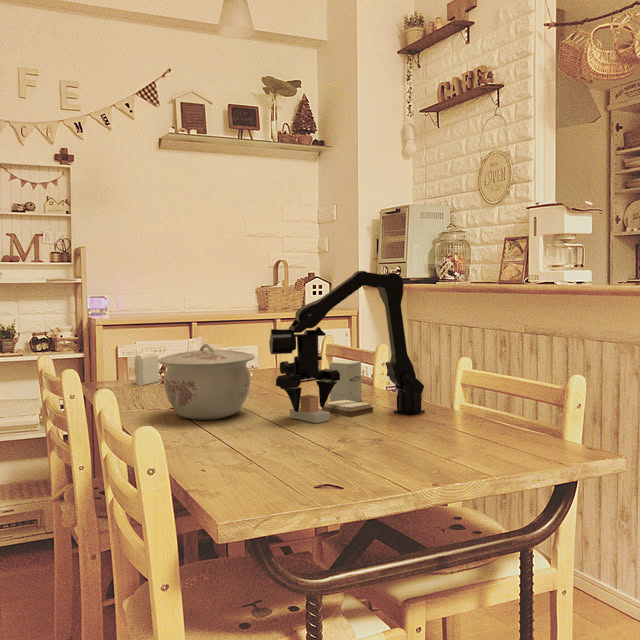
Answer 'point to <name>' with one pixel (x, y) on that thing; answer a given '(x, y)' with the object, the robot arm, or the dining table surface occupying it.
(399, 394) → the robot arm
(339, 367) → the supplement box
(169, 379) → the chamber pot
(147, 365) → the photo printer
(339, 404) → the pad
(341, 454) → the dining table surface
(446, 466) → the dining table surface
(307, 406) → the stub
